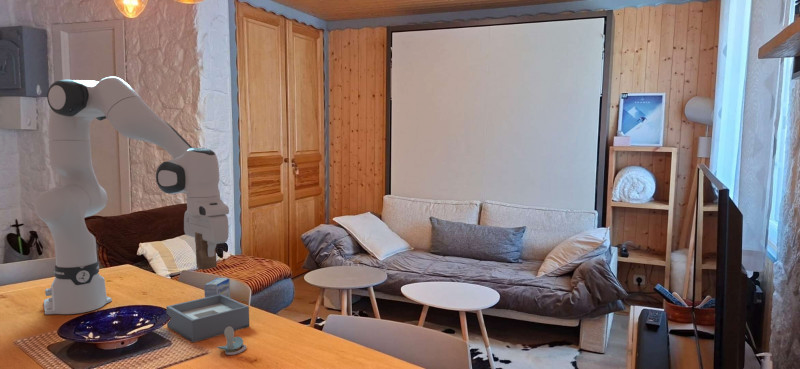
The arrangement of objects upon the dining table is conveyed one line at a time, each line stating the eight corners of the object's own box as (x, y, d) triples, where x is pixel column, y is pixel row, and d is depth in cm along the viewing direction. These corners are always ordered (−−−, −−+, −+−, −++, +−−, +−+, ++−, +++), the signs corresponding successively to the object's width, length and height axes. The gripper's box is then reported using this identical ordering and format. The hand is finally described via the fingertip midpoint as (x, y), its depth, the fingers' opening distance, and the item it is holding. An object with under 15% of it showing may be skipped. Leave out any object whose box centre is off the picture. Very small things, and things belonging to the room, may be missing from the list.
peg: (196, 267, 156) (195, 232, 155) (210, 264, 159) (208, 230, 158) (203, 269, 153) (201, 234, 152) (216, 267, 156) (215, 232, 155)
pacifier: (251, 348, 143) (232, 344, 145) (251, 324, 142) (232, 321, 144) (233, 359, 136) (213, 354, 138) (233, 334, 135) (213, 330, 138)
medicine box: (217, 312, 170) (217, 284, 169) (204, 311, 171) (203, 284, 170) (230, 304, 178) (229, 278, 177) (218, 303, 179) (217, 277, 178)
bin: (167, 326, 158) (166, 306, 157) (221, 313, 169) (220, 294, 169) (192, 342, 146) (192, 320, 145) (249, 326, 157) (248, 306, 157)
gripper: (177, 204, 159) (179, 251, 160) (209, 211, 145) (212, 262, 146) (198, 201, 164) (200, 247, 165) (232, 208, 149) (234, 258, 150)
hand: (206, 254), depth 155 cm, fingers closed on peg, 4 cm apart
